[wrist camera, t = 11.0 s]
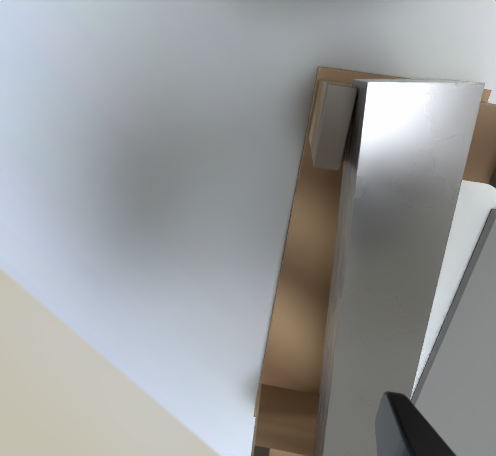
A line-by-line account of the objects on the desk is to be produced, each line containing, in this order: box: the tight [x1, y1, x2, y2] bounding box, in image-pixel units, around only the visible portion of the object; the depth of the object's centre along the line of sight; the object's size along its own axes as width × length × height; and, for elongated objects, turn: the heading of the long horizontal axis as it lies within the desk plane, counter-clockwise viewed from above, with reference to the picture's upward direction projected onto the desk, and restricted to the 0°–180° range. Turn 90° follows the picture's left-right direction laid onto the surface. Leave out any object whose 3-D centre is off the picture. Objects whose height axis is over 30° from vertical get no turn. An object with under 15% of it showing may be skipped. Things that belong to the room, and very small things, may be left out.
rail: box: [313, 79, 485, 456], centre depth 15 cm, size 22×3×3 cm, turn 0°
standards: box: [251, 67, 496, 456], centre depth 18 cm, size 22×7×6 cm, turn 173°
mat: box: [411, 209, 496, 456], centre depth 23 cm, size 10×26×1 cm, turn 173°
